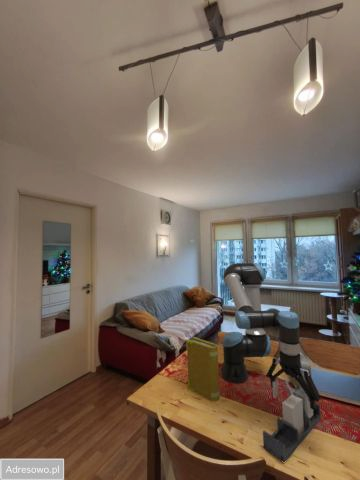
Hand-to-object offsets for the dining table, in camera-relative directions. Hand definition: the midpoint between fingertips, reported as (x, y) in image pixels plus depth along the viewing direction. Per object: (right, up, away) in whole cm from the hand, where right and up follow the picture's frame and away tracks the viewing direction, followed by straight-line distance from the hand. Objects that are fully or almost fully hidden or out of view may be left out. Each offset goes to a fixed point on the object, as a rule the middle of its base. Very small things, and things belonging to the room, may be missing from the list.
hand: (292, 405), depth 86 cm
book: (-32, -12, +24) cm, 42 cm away
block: (0, -9, -1) cm, 9 cm away
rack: (0, -10, -1) cm, 10 cm away
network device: (+15, -11, +23) cm, 30 cm away
